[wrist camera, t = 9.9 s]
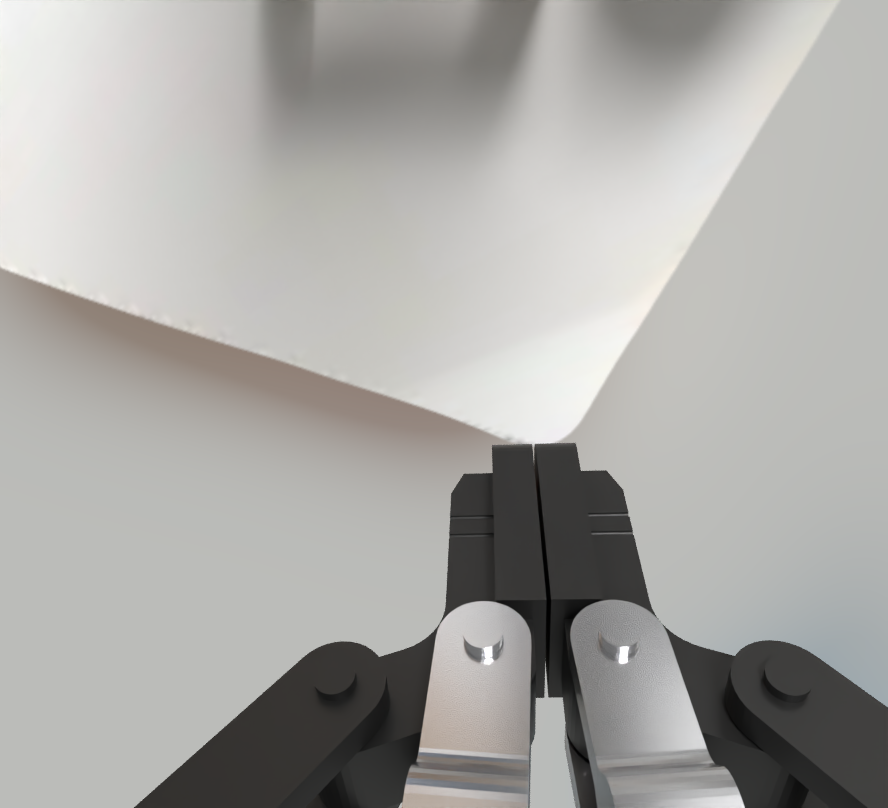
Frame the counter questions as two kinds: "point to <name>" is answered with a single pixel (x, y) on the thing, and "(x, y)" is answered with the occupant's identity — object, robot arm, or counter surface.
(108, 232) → the counter surface
